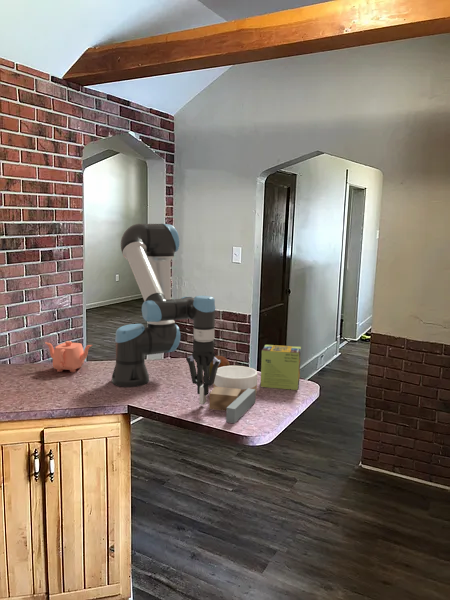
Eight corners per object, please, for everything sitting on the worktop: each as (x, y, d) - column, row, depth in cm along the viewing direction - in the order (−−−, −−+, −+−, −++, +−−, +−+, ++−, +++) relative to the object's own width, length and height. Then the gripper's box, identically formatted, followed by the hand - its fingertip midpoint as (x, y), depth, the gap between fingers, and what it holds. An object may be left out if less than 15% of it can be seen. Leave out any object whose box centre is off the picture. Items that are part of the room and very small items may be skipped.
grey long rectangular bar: (226, 421, 173) (226, 407, 172) (247, 401, 193) (247, 388, 193) (234, 423, 172) (235, 409, 171) (255, 402, 192) (255, 389, 191)
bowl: (265, 392, 204) (266, 372, 202) (235, 402, 192) (236, 381, 190) (234, 382, 216) (234, 363, 214) (204, 391, 203) (204, 371, 202)
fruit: (220, 384, 212) (220, 360, 211) (195, 378, 219) (195, 356, 217) (234, 377, 222) (235, 354, 221) (210, 372, 229) (210, 350, 227)
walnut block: (209, 409, 185) (209, 393, 184) (215, 402, 192) (215, 386, 191) (236, 412, 182) (236, 396, 181) (241, 404, 190) (241, 389, 189)
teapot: (45, 367, 231) (44, 340, 229) (81, 362, 240) (80, 335, 238) (56, 376, 219) (55, 347, 217) (93, 370, 228) (93, 342, 226)
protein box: (298, 390, 207) (299, 352, 204) (260, 387, 210) (261, 350, 207) (299, 382, 217) (301, 346, 214) (263, 379, 220) (264, 344, 217)
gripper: (182, 339, 182) (182, 403, 186) (216, 343, 177) (215, 409, 181) (191, 335, 189) (190, 397, 193) (224, 339, 184) (223, 402, 188)
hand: (202, 403), depth 187 cm, fingers closed
